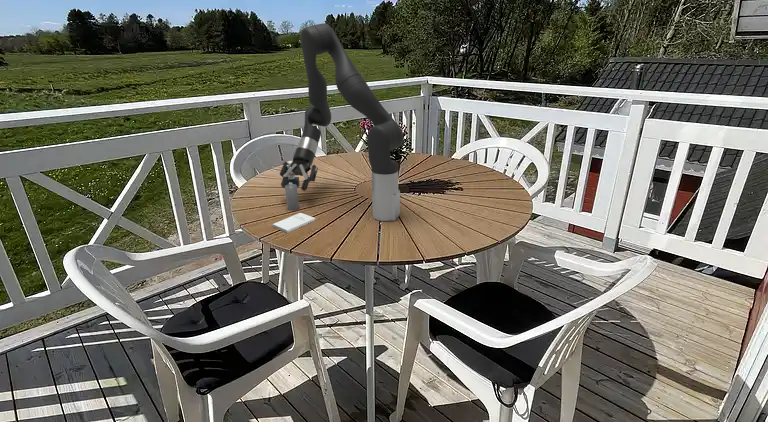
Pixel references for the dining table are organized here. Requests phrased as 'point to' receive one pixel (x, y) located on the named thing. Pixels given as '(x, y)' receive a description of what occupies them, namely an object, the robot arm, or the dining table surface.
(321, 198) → the dining table surface
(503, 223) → the dining table surface
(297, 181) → the watch
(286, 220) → the external hard drive
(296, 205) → the grey upright cylinder
